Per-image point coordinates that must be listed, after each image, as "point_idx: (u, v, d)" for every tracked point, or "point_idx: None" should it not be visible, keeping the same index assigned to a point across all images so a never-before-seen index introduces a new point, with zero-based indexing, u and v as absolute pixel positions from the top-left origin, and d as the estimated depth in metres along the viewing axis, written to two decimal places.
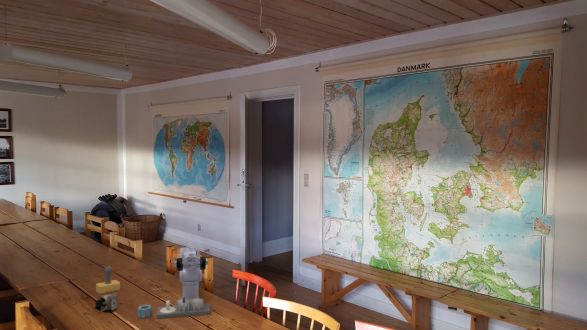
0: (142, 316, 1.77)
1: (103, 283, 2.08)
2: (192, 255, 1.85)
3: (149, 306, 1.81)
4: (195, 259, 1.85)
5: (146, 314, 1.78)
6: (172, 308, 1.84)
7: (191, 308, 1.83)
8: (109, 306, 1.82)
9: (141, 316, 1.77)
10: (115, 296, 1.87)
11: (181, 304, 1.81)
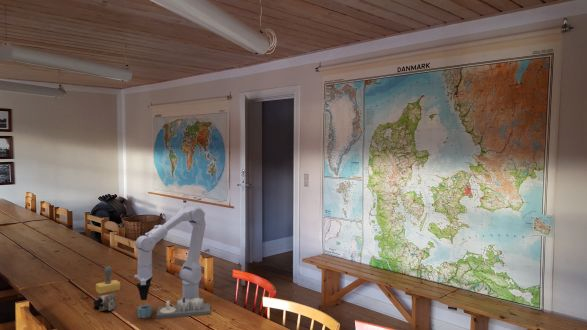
0: (142, 316, 1.77)
1: (103, 283, 2.08)
2: None
3: (149, 306, 1.81)
4: None
5: (146, 314, 1.78)
6: (172, 308, 1.84)
7: (191, 308, 1.83)
8: (106, 306, 1.82)
9: (141, 316, 1.77)
10: (113, 296, 1.86)
11: (181, 304, 1.81)
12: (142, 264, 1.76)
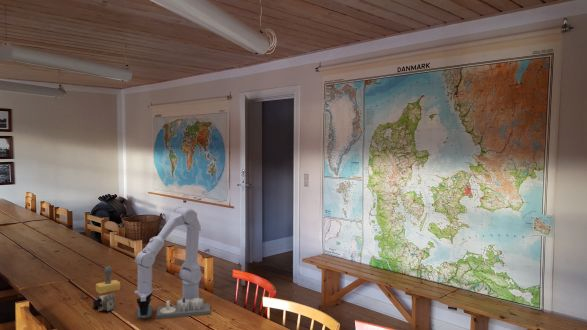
0: (142, 316, 1.77)
1: (103, 283, 2.08)
2: None
3: (149, 306, 1.81)
4: None
5: None
6: (172, 308, 1.84)
7: (191, 308, 1.83)
8: (105, 306, 1.81)
9: (141, 316, 1.77)
10: (112, 296, 1.86)
11: (181, 304, 1.81)
12: (142, 280, 1.76)
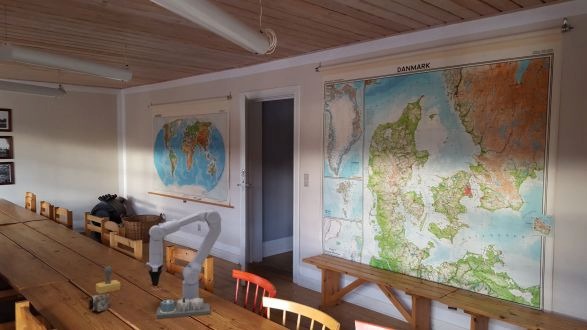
0: (166, 310, 1.79)
1: (103, 283, 2.08)
2: None
3: (172, 301, 1.83)
4: None
5: (169, 308, 1.80)
6: None
7: (191, 308, 1.83)
8: (96, 307, 1.81)
9: (165, 310, 1.80)
10: (105, 297, 1.85)
11: (181, 304, 1.81)
12: (151, 252, 1.87)
